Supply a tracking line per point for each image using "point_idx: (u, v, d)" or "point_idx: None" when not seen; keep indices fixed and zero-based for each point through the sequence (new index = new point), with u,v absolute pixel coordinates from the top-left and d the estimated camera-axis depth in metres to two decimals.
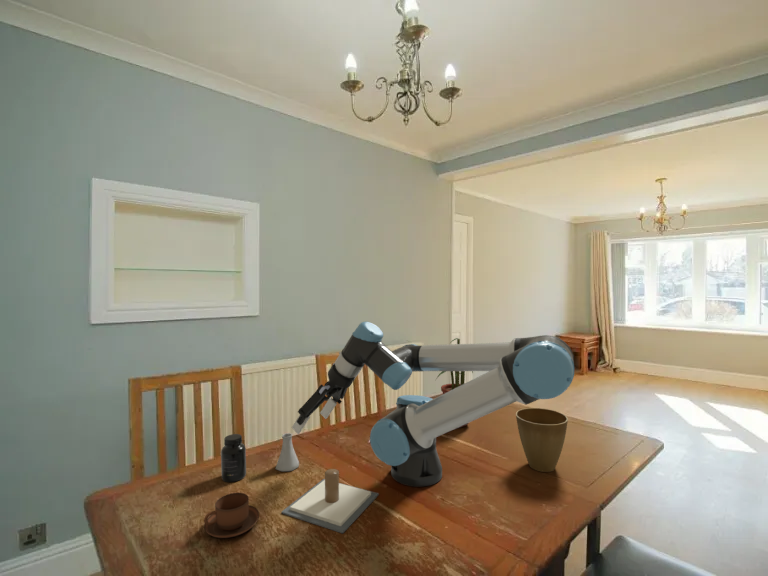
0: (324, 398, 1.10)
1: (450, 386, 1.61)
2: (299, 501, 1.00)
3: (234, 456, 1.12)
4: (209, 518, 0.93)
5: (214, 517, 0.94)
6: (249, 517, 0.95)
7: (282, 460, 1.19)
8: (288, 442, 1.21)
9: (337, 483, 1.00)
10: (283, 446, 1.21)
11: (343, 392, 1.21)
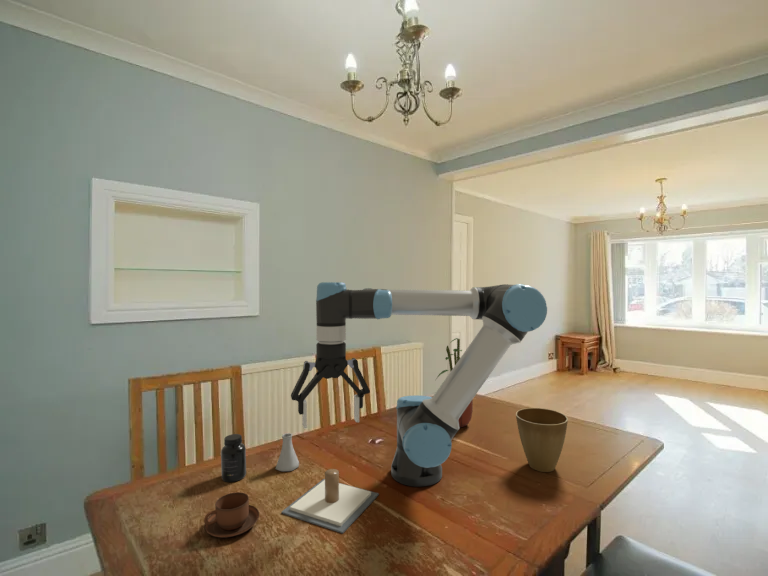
0: (315, 377, 0.99)
1: None
2: (299, 501, 1.00)
3: (234, 456, 1.12)
4: (209, 518, 0.93)
5: (214, 516, 0.94)
6: (249, 517, 0.95)
7: (282, 460, 1.19)
8: (288, 442, 1.20)
9: (337, 483, 1.00)
10: (283, 446, 1.21)
11: (360, 381, 1.02)
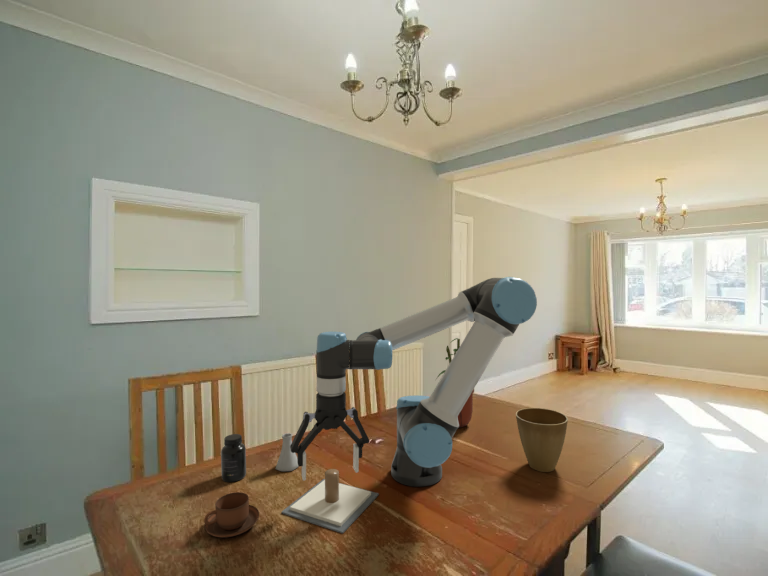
0: (315, 429, 0.99)
1: None
2: (299, 501, 1.00)
3: (234, 456, 1.12)
4: (209, 518, 0.93)
5: (214, 516, 0.94)
6: (249, 517, 0.95)
7: (282, 460, 1.19)
8: (288, 442, 1.20)
9: (337, 483, 1.00)
10: (283, 446, 1.21)
11: (359, 430, 1.02)
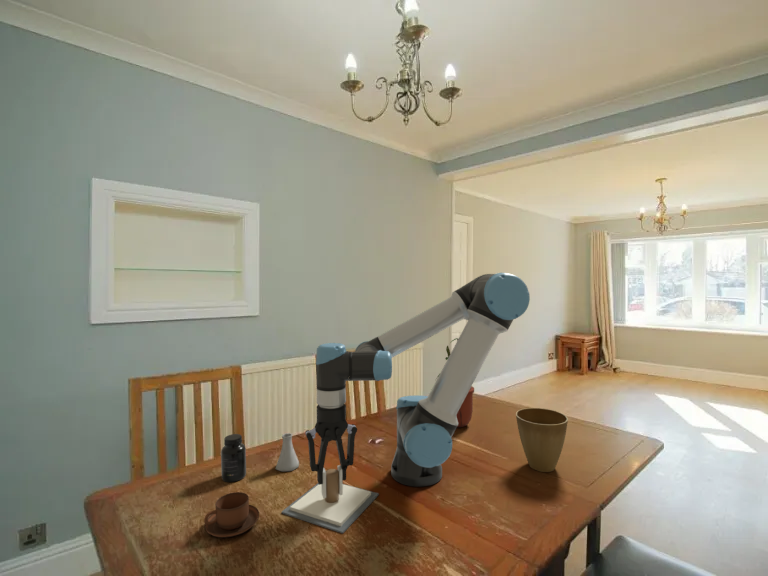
0: (322, 444, 0.99)
1: None
2: (299, 501, 1.00)
3: (234, 456, 1.12)
4: (209, 517, 0.93)
5: (214, 516, 0.94)
6: (249, 516, 0.95)
7: (282, 460, 1.19)
8: (288, 442, 1.20)
9: (337, 483, 1.00)
10: (283, 446, 1.21)
11: (349, 449, 1.01)
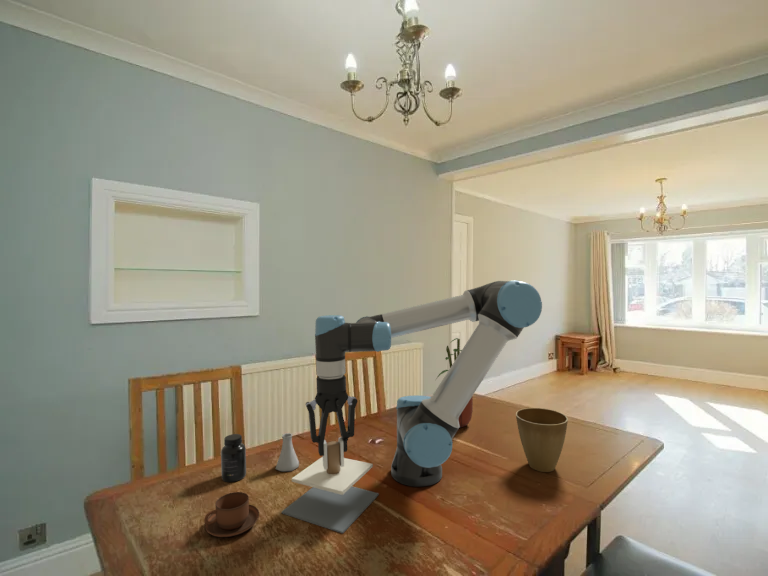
0: (323, 416, 0.99)
1: None
2: (300, 473, 1.00)
3: (234, 456, 1.12)
4: (209, 517, 0.93)
5: (214, 516, 0.94)
6: (249, 516, 0.95)
7: (282, 460, 1.19)
8: (288, 442, 1.20)
9: (338, 455, 1.00)
10: (283, 446, 1.21)
11: (350, 421, 1.01)
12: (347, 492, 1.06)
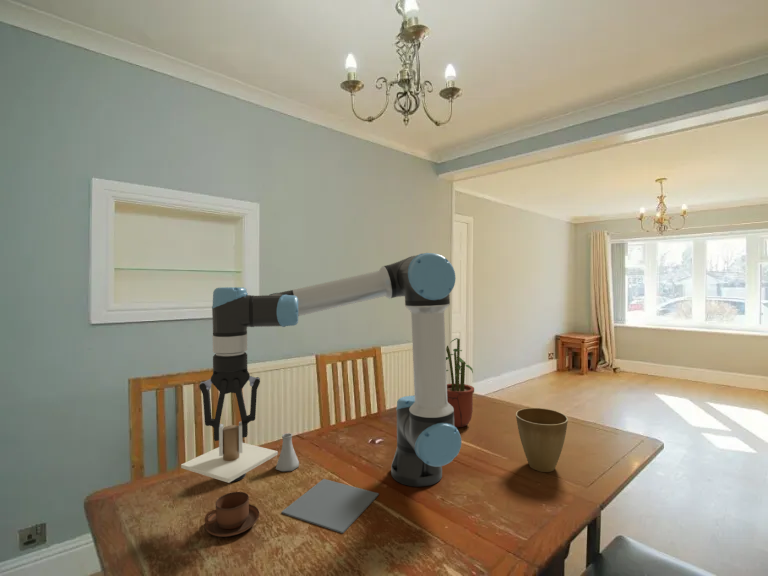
0: None
1: (450, 386, 1.61)
2: (194, 459, 0.91)
3: None
4: (209, 517, 0.93)
5: (214, 516, 0.94)
6: (249, 516, 0.95)
7: (282, 460, 1.19)
8: (288, 442, 1.20)
9: (236, 440, 0.91)
10: (283, 446, 1.21)
11: None
12: (347, 492, 1.06)
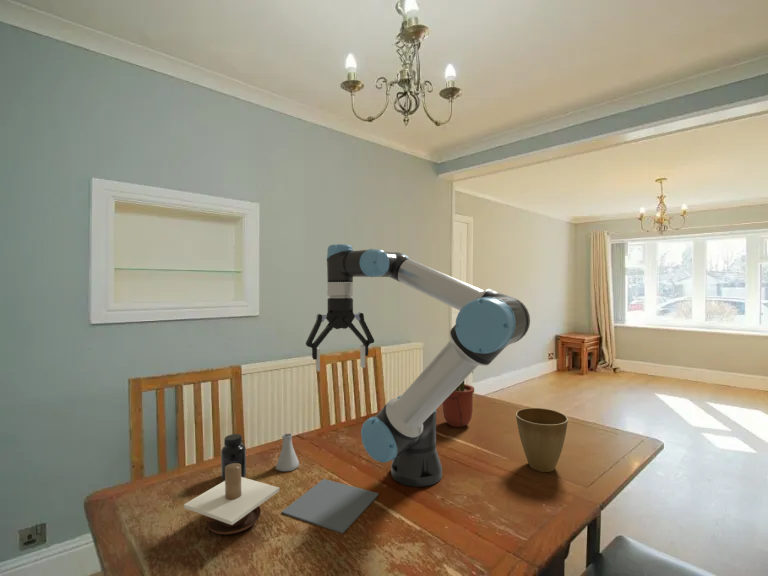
0: (327, 327, 1.13)
1: None
2: (196, 498, 0.92)
3: (234, 456, 1.12)
4: None
5: None
6: (251, 514, 0.96)
7: (282, 460, 1.19)
8: (288, 442, 1.20)
9: (238, 478, 0.92)
10: (283, 446, 1.21)
11: (365, 331, 1.17)
12: (347, 492, 1.06)
